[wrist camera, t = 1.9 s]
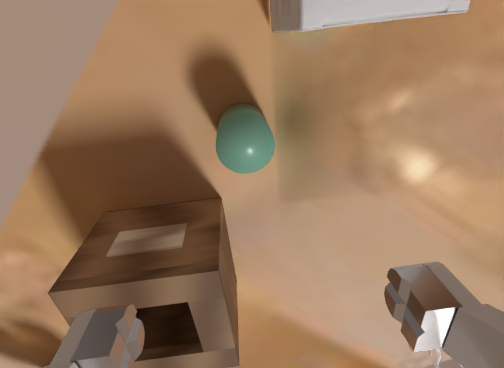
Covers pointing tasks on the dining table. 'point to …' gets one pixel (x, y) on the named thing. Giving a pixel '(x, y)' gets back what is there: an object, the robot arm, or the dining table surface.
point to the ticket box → (161, 281)
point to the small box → (353, 12)
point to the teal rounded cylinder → (244, 139)
